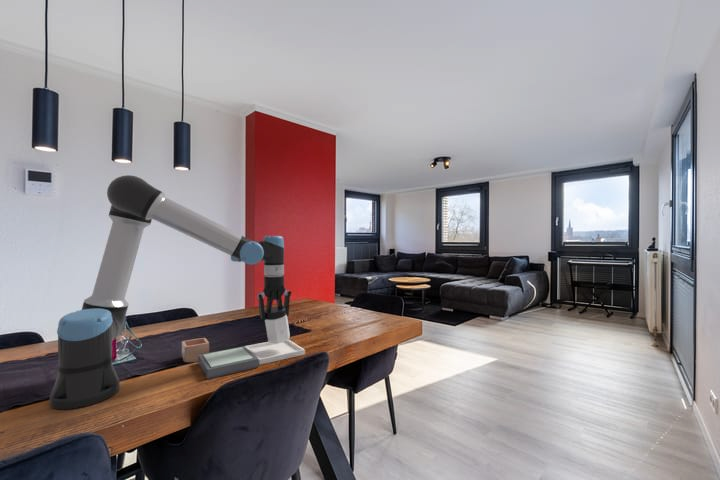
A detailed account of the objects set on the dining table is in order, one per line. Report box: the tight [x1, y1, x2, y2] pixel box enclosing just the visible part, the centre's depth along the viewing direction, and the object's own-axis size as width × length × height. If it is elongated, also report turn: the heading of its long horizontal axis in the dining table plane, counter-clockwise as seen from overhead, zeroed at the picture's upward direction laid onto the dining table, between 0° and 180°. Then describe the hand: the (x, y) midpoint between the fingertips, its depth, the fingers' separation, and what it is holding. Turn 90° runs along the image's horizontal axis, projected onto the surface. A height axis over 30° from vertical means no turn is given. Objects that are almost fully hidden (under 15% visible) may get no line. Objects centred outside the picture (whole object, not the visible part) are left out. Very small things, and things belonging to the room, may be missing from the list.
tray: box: [244, 339, 306, 366], centre depth 128 cm, size 18×18×2 cm
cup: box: [181, 337, 210, 363], centre depth 122 cm, size 8×8×6 cm
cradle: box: [198, 345, 259, 380], centre depth 115 cm, size 16×16×3 cm
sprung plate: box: [203, 346, 253, 368], centre depth 115 cm, size 13×13×1 cm
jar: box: [264, 306, 291, 344], centre depth 128 cm, size 9×8×12 cm
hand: (274, 335), depth 128 cm, fingers closed on jar, 3 cm apart
